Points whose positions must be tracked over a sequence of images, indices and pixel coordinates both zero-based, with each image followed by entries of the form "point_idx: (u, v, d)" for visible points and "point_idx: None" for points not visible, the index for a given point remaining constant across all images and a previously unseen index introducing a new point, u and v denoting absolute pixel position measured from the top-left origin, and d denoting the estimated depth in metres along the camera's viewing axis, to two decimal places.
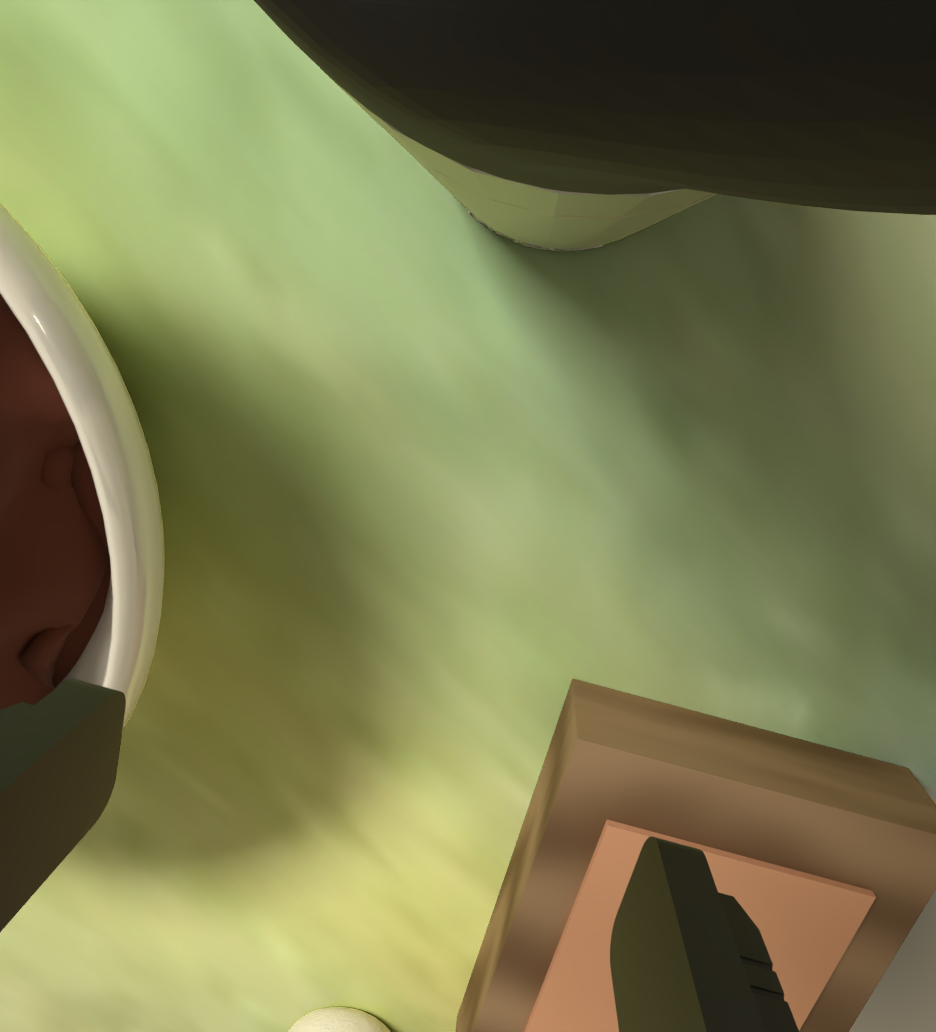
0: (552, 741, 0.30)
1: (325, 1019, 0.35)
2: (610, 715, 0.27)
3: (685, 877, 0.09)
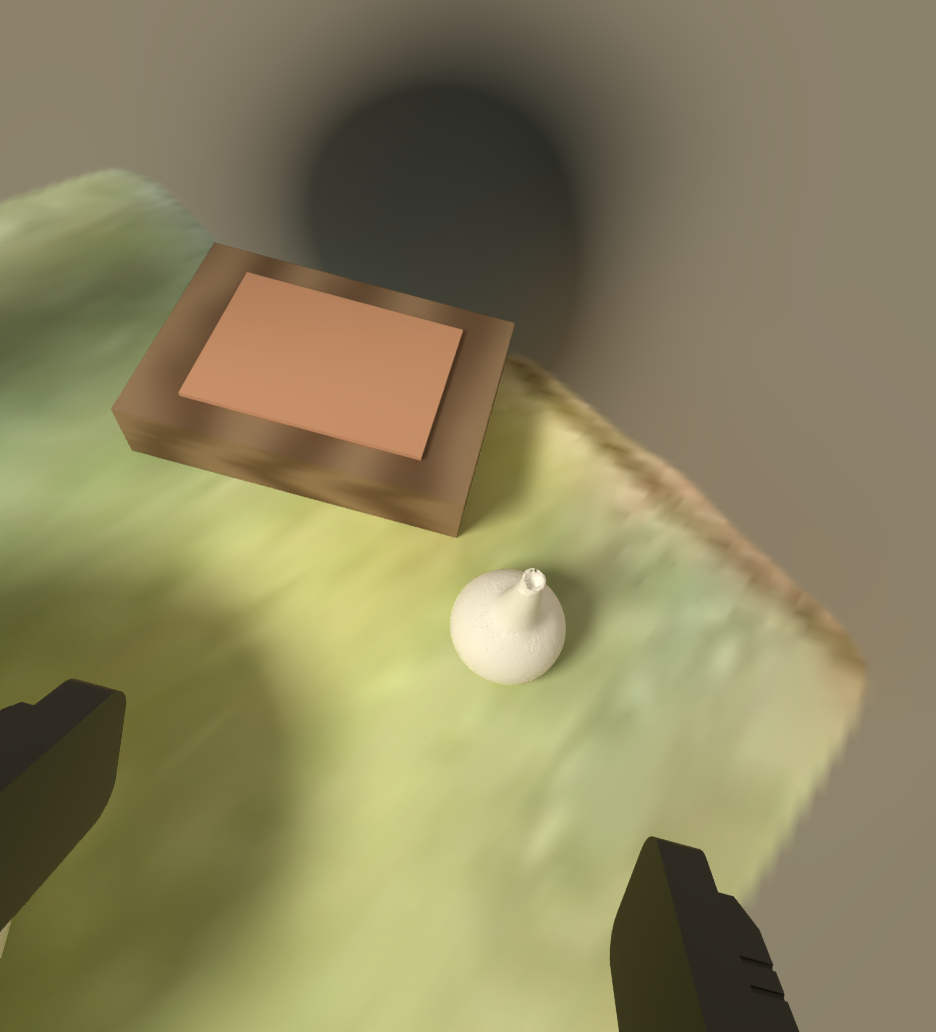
0: (179, 461, 0.42)
1: (451, 634, 0.38)
2: None
3: (685, 877, 0.09)
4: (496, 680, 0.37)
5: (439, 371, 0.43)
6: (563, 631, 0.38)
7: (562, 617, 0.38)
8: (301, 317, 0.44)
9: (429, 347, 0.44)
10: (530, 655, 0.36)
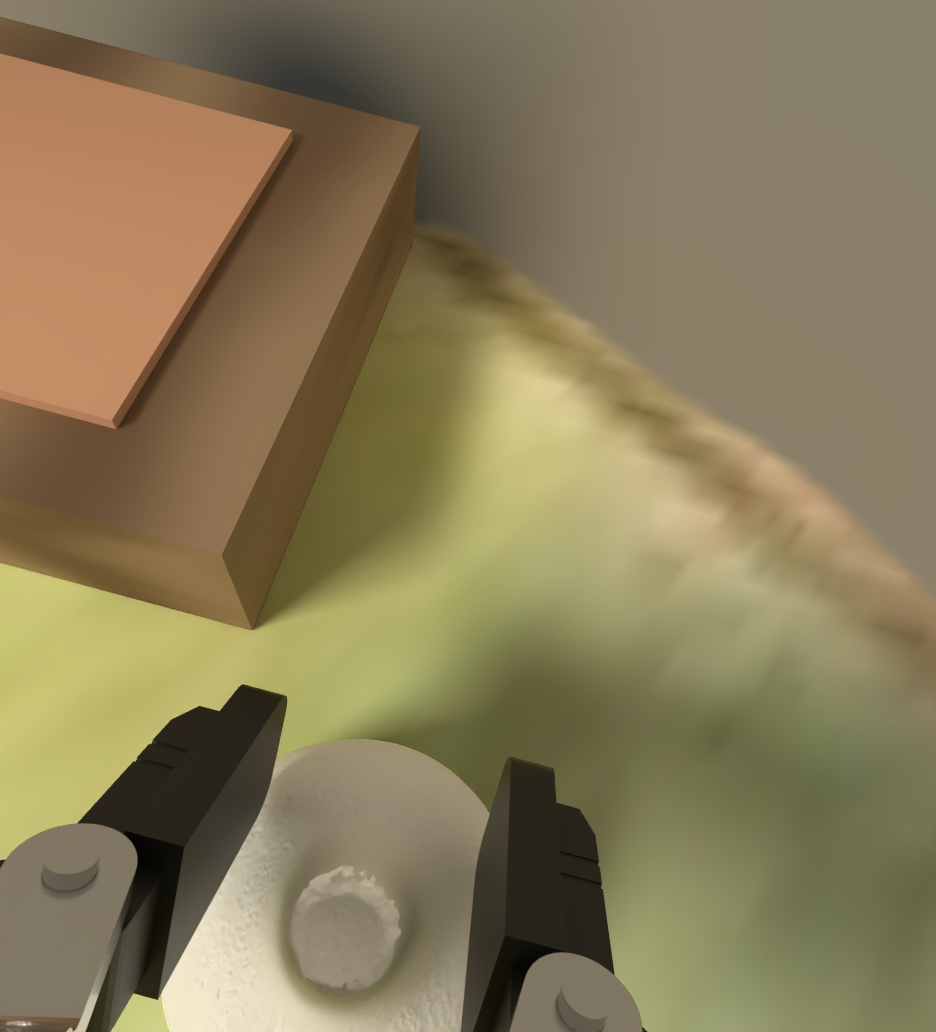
0: None
1: None
2: None
3: (528, 787, 0.10)
4: None
5: (214, 212, 0.17)
6: None
7: None
8: None
9: (200, 161, 0.18)
10: None
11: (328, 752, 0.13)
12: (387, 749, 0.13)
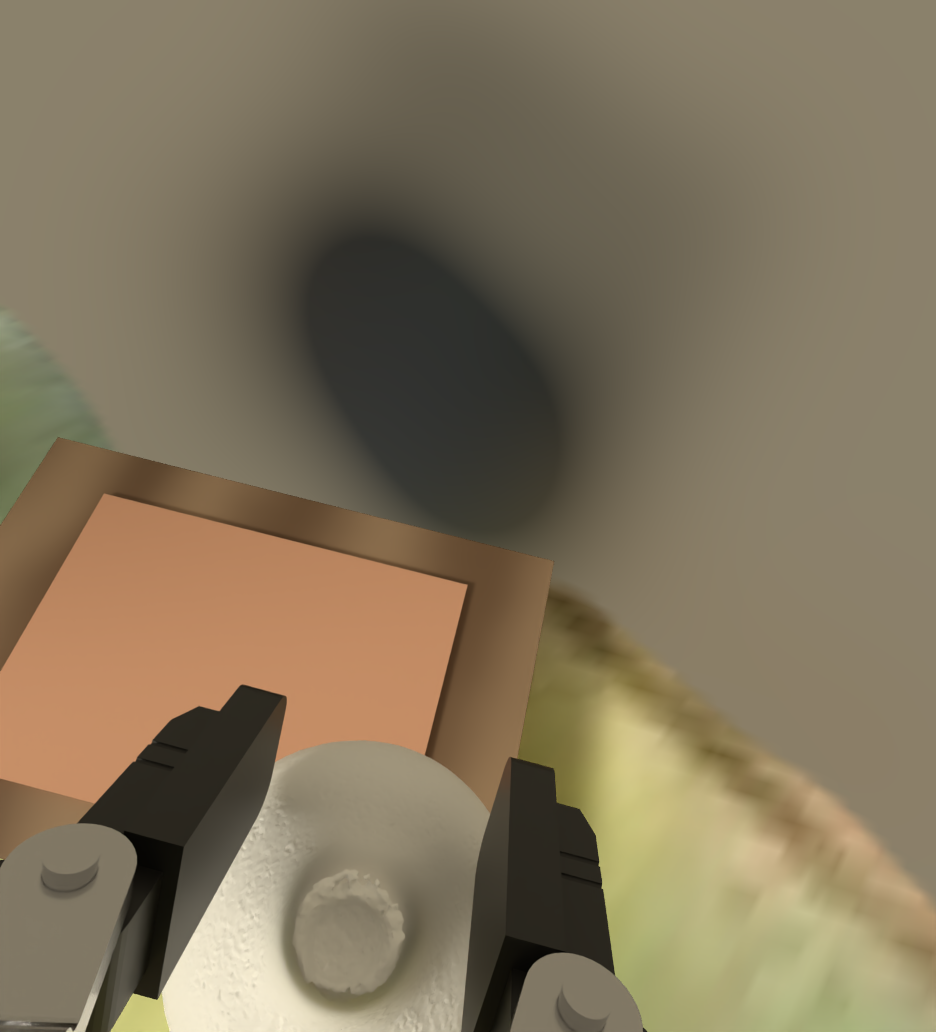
0: None
1: None
2: None
3: (528, 787, 0.10)
4: None
5: (427, 676, 0.24)
6: None
7: None
8: (190, 579, 0.25)
9: (410, 626, 0.25)
10: None
11: (330, 753, 0.13)
12: (389, 751, 0.13)
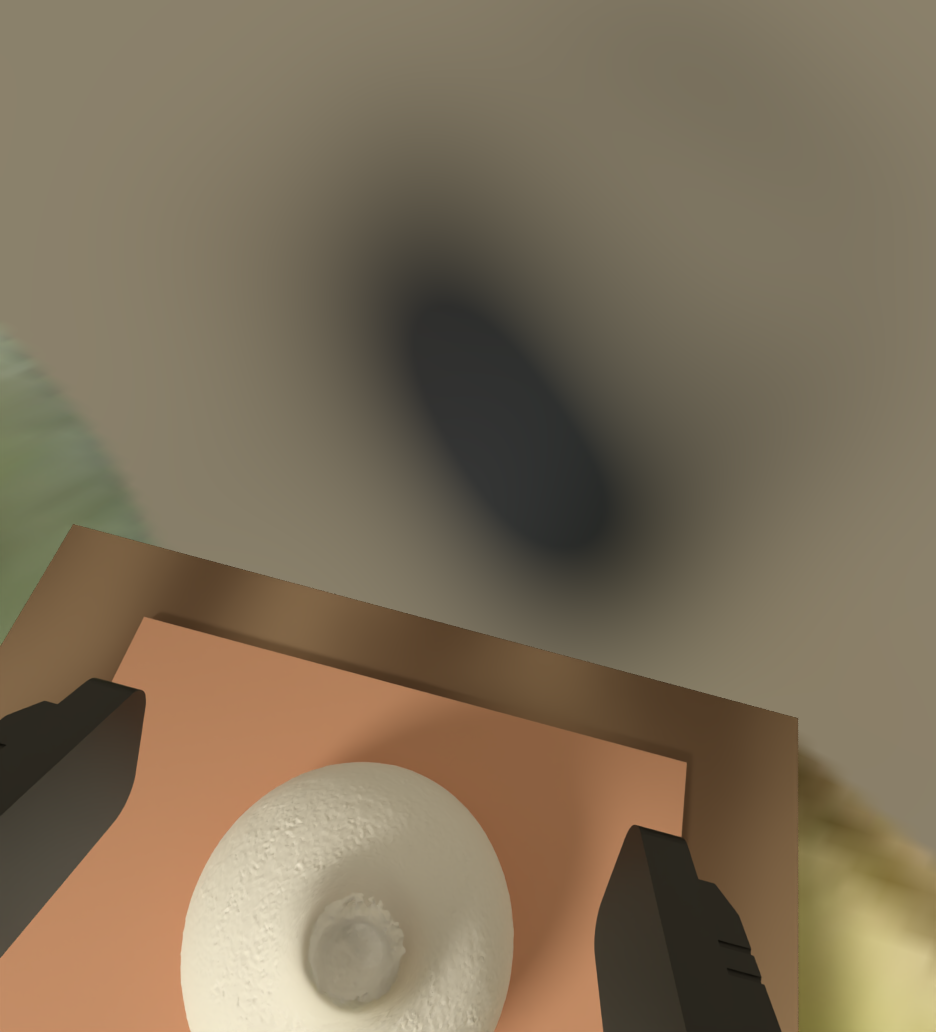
0: None
1: None
2: None
3: (666, 864, 0.09)
4: None
5: None
6: (503, 970, 0.13)
7: (501, 925, 0.13)
8: (278, 759, 0.17)
9: (613, 835, 0.17)
10: None
11: (333, 776, 0.14)
12: (388, 772, 0.14)
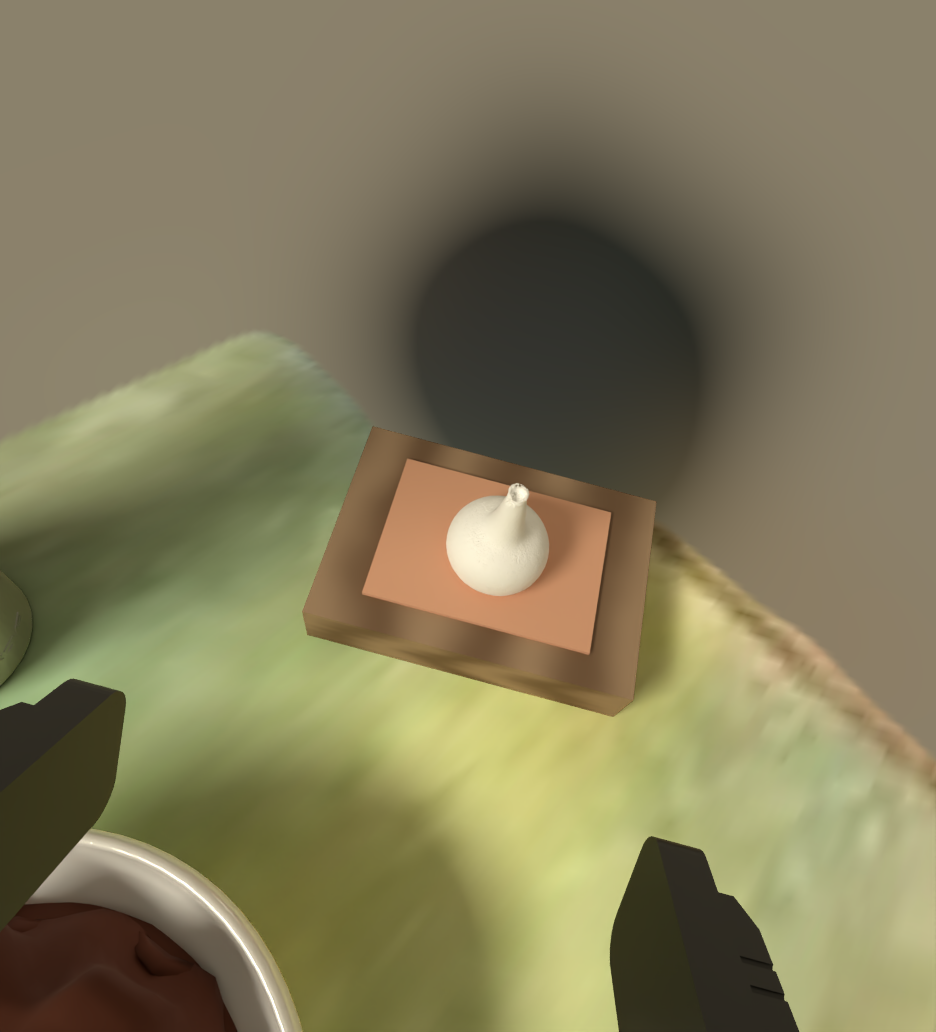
0: (352, 645, 0.45)
1: (447, 552, 0.43)
2: None
3: (685, 877, 0.09)
4: (487, 590, 0.42)
5: (595, 558, 0.46)
6: (546, 548, 0.43)
7: (545, 536, 0.43)
8: (462, 505, 0.46)
9: (582, 533, 0.46)
10: (516, 565, 0.41)
11: None
12: None
